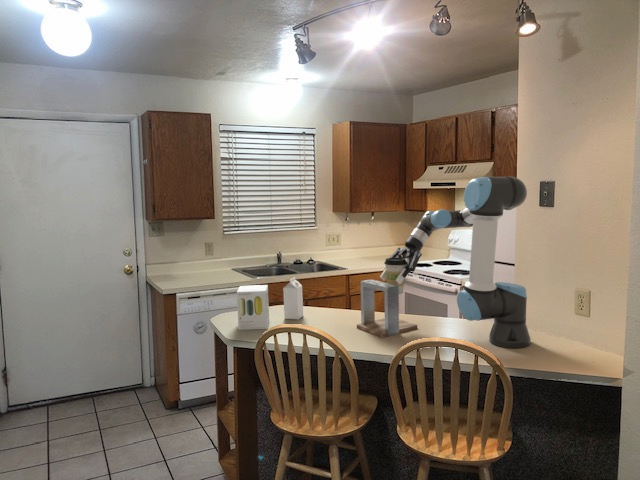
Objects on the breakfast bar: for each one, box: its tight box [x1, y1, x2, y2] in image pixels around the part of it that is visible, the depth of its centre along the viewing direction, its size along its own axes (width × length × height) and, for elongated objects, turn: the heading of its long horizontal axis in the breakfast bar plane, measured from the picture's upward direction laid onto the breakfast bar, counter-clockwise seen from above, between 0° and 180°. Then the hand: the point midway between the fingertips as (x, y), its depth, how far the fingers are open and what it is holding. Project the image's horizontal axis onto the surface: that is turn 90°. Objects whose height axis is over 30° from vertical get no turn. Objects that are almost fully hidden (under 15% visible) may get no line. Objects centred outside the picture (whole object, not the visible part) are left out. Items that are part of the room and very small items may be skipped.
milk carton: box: [282, 276, 304, 320], centre depth 242 cm, size 7×7×19 cm
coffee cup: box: [384, 257, 407, 295], centre depth 222 cm, size 10×10×15 cm
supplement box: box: [236, 284, 270, 331], centre depth 231 cm, size 13×13×18 cm
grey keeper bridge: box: [360, 278, 400, 337], centre depth 218 cm, size 18×6×20 cm, turn 33°
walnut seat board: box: [356, 317, 418, 338], centre depth 222 cm, size 17×20×2 cm
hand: (389, 280), depth 220 cm, fingers closed on coffee cup, 10 cm apart
